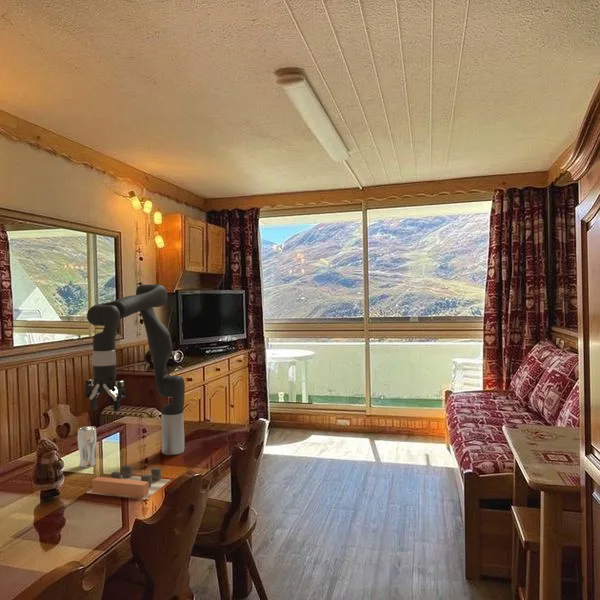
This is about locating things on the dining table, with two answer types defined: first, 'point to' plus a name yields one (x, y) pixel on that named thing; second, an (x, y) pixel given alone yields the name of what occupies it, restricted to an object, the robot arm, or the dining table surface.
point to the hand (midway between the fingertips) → (105, 410)
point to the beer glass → (87, 446)
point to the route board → (153, 480)
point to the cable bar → (120, 486)
